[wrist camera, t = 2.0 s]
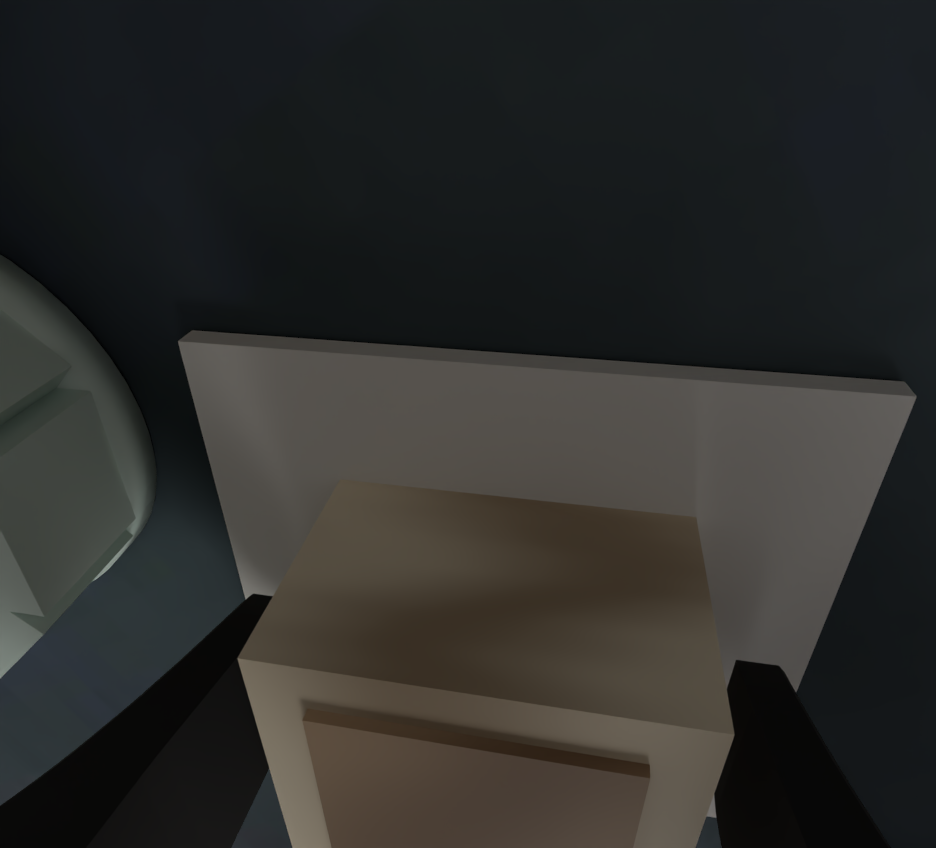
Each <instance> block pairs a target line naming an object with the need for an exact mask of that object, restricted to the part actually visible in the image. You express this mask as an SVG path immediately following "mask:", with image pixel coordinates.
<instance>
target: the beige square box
mask: <svg viewBox="0 0 936 848" xmlns="http://www.w3.org/2000/svg"><path fill="white" fill-rule="evenodd" d="M237 659H238V662H239V666H240V669H241V673H242V676H243V680H244V683H245V686H246V690H247V693H248V697H249V700H250V704H251V707H252V710H253V714H254V717H255V721H256V724H257V728H258V731H259V734H260V738H261V741H262V745H263V748H264V752H265V755H266V758H267V762H268V765H269V769H270V772H271V776H272V779H273V782H274V786H275V789H276V793H277V796H278V799H279V803H280V806H281V810H282V813H283V817H284V820H285V823H286V827H287V830H288V834H289V837H290V841H291V844H292V847H293V848H696V845H697V842H698V839H699V836H700V833H701V830H702V827H703V825H704V822H705V819H706V816H707V813H708V810H709V807H710V804H711V802H712V799H713V796H714V793H715V790H716V787H717V784H718V781H719V779H720V776H721V773H722V770H723V767H724V764H725V761H726V758H727V755H728V753H729V750H730V747H731V744H732V741H733V738H734V735H735V734H734V728H733V723H732V717H731V711H730V706H729V700H728V694H727V689H726V683H725V677H724V672H723V666H722V660H721V655H720V649H719V643H718V638H717V632H716V626H715V621H714V615H713V609H712V604H711V598H710V592H709V587H708V581H707V575H706V570H705V564H704V558H703V553H702V547H701V541H700V536H699V530H698V524H697V519H696V517H690V516H681V515H671V514H662V513H652V512H643V511H633V510H624V509H615V508H605V507H596V506H586V505H577V504H567V503H558V502H549V501H539V500H530V499H520V498H511V497H501V496H492V495H483V494H473V493H464V492H454V491H445V490H435V489H426V488H417V487H407V486H398V485H388V484H379V483H369V482H360V481H351V480H341V479H340V480H339V482H338V484H337V486H336V487H335V489H334V491H333V493H332V494H331V496H330V498H329V500H328V501H327V503H326V505H325V507H324V508H323V510H322V512H321V514H320V515H319V517H318V519H317V521H316V522H315V524H314V526H313V527H312V529H311V531H310V533H309V534H308V536H307V538H306V540H305V541H304V543H303V545H302V547H301V548H300V550H299V552H298V554H297V555H296V557H295V559H294V561H293V562H292V564H291V566H290V567H289V569H288V571H287V573H286V574H285V576H284V578H283V580H282V581H281V583H280V585H279V587H278V588H277V590H276V592H275V594H274V595H273V597H272V599H271V601H270V602H269V604H268V606H267V607H266V609H265V611H264V613H263V614H262V616H261V618H260V620H259V621H258V623H257V625H256V627H255V628H254V630H253V632H252V634H251V635H250V637H249V639H248V641H247V642H246V644H245V646H244V648H243V649H242V651H241V653H240V654H239V656H238V658H237Z"/></svg>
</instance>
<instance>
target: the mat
mask: <svg viewBox="0 0 936 848" xmlns="http://www.w3.org/2000/svg"><path fill="white" fill-rule="evenodd" d="M178 344H179V348H180V352H181V355H182V359H183V363H184V367H185V371H186V374H187V378H188V382H189V386H190V390H191V393H192V397H193V401H194V405H195V409H196V413H197V416H198V420H199V424H200V428H201V432H202V435H203V439H204V443H205V447H206V451H207V454H208V458H209V462H210V466H211V470H212V473H213V477H214V481H215V485H216V489H217V492H218V496H219V500H220V504H221V508H222V511H223V515H224V519H225V523H226V527H227V530H228V534H229V538H230V542H231V546H232V549H233V553H234V557H235V561H236V565H237V568H238V572H239V576H240V580H241V584H242V588H243V591H244V595H245V599H247V598H248V597H249V596H251V595H252V594H260V595H267V596H273V595H274V594H275V592H276V590H277V588H278V587H279V585H280V583H281V581H282V580H283V578H284V576H285V574H286V573H287V571H288V569H289V567H290V566H291V564H292V562H293V561H294V559H295V557H296V555H297V554H298V552H299V550H300V548H301V547H302V545H303V543H304V541H305V540H306V538H307V536H308V534H309V533H310V531H311V529H312V527H313V526H314V524H315V522H316V521H317V519H318V517H319V515H320V514H321V512H322V510H323V508H324V507H325V505H326V503H327V501H328V500H329V498H330V496H331V494H332V493H333V491H334V489H335V487H336V486H337V484H338V482H339V480H340V479H341V480H351V481H360V482H369V483H379V484H388V485H398V486H407V487H417V488H426V489H435V490H445V491H454V492H464V493H473V494H483V495H492V496H501V497H511V498H520V499H530V500H539V501H549V502H558V503H567V504H577V505H586V506H596V507H605V508H615V509H624V510H633V511H643V512H652V513H662V514H671V515H681V516H690V517H696V519H697V524H698V530H699V536H700V541H701V547H702V553H703V558H704V564H705V570H706V575H707V581H708V587H709V592H710V598H711V604H712V609H713V615H714V621H715V626H716V632H717V638H718V643H719V649H720V655H721V660H722V666H723V672H724V677H725V683H726V689H727V687H728V684H729V680H730V677H731V674H732V671H733V668H734V665H735V662H736V660H742V661H749V662H756V663H764V664H771V665H778V666H780V667H781V669H782V670H783V671H784V672H785V674H786V676H787V677H788V679H789V681H790V683H791V685H792V686H793V688H794V690H795V692H797V690H798V687H799V685H800V682H801V680H802V677H803V675H804V672H805V670H806V667H807V665H808V663H809V660H810V658H811V655H812V653H813V650H814V648H815V645H816V643H817V640H818V638H819V636H820V633H821V631H822V628H823V626H824V623H825V621H826V618H827V616H828V613H829V611H830V609H831V606H832V604H833V601H834V599H835V596H836V594H837V591H838V589H839V586H840V584H841V582H842V579H843V577H844V574H845V572H846V569H847V567H848V564H849V562H850V559H851V557H852V554H853V552H854V550H855V547H856V545H857V542H858V540H859V537H860V535H861V532H862V530H863V527H864V525H865V523H866V520H867V518H868V515H869V513H870V510H871V508H872V505H873V503H874V500H875V498H876V496H877V493H878V491H879V488H880V486H881V483H882V481H883V478H884V476H885V473H886V471H887V469H888V466H889V464H890V461H891V459H892V456H893V454H894V451H895V449H896V446H897V444H898V442H899V439H900V437H901V434H902V432H903V429H904V427H905V424H906V422H907V419H908V417H909V415H910V412H911V410H912V407H913V405H914V402H915V400H916V397H917V396H916V395H915V394H914V393H913V391H912V390H911V389H910V388H909V386H908V385H907V384H906V383H905V382H904V381H890V380H876V379H862V378H848V377H834V376H820V375H806V374H792V373H779V372H765V371H751V370H737V369H723V368H709V367H695V366H681V365H667V364H653V363H639V362H626V361H612V360H598V359H584V358H570V357H556V356H542V355H528V354H514V353H500V352H487V351H473V350H459V349H445V348H431V347H417V346H403V345H389V344H375V343H361V342H348V341H334V340H320V339H306V338H292V337H278V336H264V335H250V334H236V333H222V332H209V331H195V330H192V331H191V332H189V333H188V334H187V335H185V336H184V337H183V338H181V339H180V340H179V341H178ZM707 816H709V817H714V818H717V817H716V810H715V798H714V796H713V799H712V802H711V804H710V807H709V810H708V813H707Z"/></svg>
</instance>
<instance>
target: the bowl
mask: <svg viewBox="0 0 936 848" xmlns="http://www.w3.org/2000/svg"><path fill="white" fill-rule="evenodd" d="M156 482H157V474H156V463H155V455H154V451H153V447H152V442H151V438H150V434H149V431H148V429H147V426H146V423H145V421H144V418H143V415H142V413H141V410H140V408H139V406H138V404H137V402H136V400H135V398H134V396H133V394H132V392H131V390H130V388H129V386H128V385H127V383H126V381H125V380H124V378H123V377H122V375H121V373H120V372H119V370H118V369H117V367H116V366H115V364H114V363H113V361H112V360H111V358H110V357H109V355H108V354H107V353H106V352H105V350H104V349H103V348H102V346H101V345H100V344H99V343H98V341H97V340H96V339H95V338H94V336H93V335H92V334H91V333H90V331H89V330H88V329H87V328H86V327H85V326H84V325H83V324H82V323H81V322H80V321H79V320H78V319H77V317H76V316H75V315H74V314H73V313H72V312H71V311H70V310H69V309H68V308H67V307H66V306H65V305H64V304H63V303H62V302H61V301H60V300H58V299H57V298H56V297H55V296H54V295H53V294H52V293H51V292H49V291H48V290H47V289H46V288H45V287H44V286H43V285H42V284H41V283H39V282H38V281H37V280H35V279H34V278H33V277H31V276H30V275H29V274H27V273H26V272H25V271H23V270H22V269H21V268H19V267H18V266H17V265H16V264H14V263H13V262H12V261H10V260H8V259H7V258H5V257H4V256H2V255H0V678H1V677H2V676H3V675H4V674H5V673H6V672H7V671H8V670H9V669H10V668H11V667H12V666H13V665H14V664H15V663H16V662H17V661H18V660H19V659H20V658H21V657H22V656H23V655H24V654H25V653H26V652H27V651H28V650H29V649H30V648H31V647H32V646H33V645H34V644H35V643H36V642H37V641H38V640H39V639H40V638H41V637H42V636H43V635H44V634H45V632H46V631H47V630H48V629H49V628H50V627H51V626H52V625H53V624H54V623H55V621H56V620H57V619H58V618H59V617H60V616H61V615H62V614H63V613H64V612H65V610H66V609H67V608H68V607H69V606H70V605H71V604H72V603H73V602H74V601H75V599H76V598H77V597H78V596H79V595H80V594H81V593H82V592H83V591H84V590H85V588H86V587H87V586H88V585H89V584H90V583H91V582H92V581H94V580H96V579H97V578H98V577H100V576H101V575H102V574H103V573H105V572H106V571H107V570H108V569H109V568H110V567H111V566H112V565H113V564H114V562H115V561H116V560H117V559H118V558H119V557H120V556H121V555H122V554H123V552H124V551H125V550H126V549H127V548H128V547H129V546H130V545H131V544H132V542H133V541H134V540H135V539H136V538H137V536H138V535H139V534H140V533H141V531H142V530H143V529H144V527H145V525H146V523H147V521H148V519H149V517H150V515H151V512H152V508H153V504H154V501H155V497H156Z"/></svg>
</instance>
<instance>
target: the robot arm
mask: <svg viewBox="0 0 936 848" xmlns="http://www.w3.org/2000/svg"><path fill="white" fill-rule="evenodd" d="M272 597H273V596H267V595H260V594H252V595H251V596H249V597H248V598H247V599H246V600H245V601H244V602H243V603H241V604H240V605H239V606H238V607H237V608H236V609H235V610H234V611H233V612H232V613H231V614H230V615H228V616H227V617H226V618H225V619H224V620H223V621H222V622H221V623H220V624H219V625H218V626H217V627H216V628H215V629H213V630H212V631H211V632H210V633H209V634H208V635H207V636H206V637H205V638H204V639H203V640H202V641H201V642H199V643H198V644H197V645H196V646H195V647H194V648H193V649H192V650H191V651H190V652H189V653H188V654H186V655H185V656H184V657H183V658H182V659H181V660H180V661H179V662H178V663H177V664H175V665H174V666H173V667H172V668H171V669H170V670H169V671H168V672H166V673H165V674H164V675H163V676H162V677H161V678H160V679H159V680H157V681H156V682H155V683H154V684H153V685H152V686H151V687H150V688H148V689H147V690H146V691H145V692H144V693H143V694H142V695H141V696H139V697H138V698H137V699H136V700H135V701H134V702H132V703H131V704H130V705H129V706H128V707H127V708H125V709H124V710H123V711H122V712H121V713H119V714H118V715H117V716H116V717H115V718H113V719H112V720H111V721H110V722H108V723H107V724H106V725H105V726H104V727H102V728H101V729H100V730H99V731H98V732H96V733H95V734H94V735H93V736H91V737H90V738H89V739H88V740H87V741H85V742H84V743H83V744H82V745H81V746H79V747H78V748H77V749H76V750H74V751H73V752H72V753H70V754H69V755H68V756H67V757H65V758H64V759H63V760H61V761H60V762H59V763H58V764H56V765H55V766H54V767H52V768H51V769H50V770H48V771H47V772H46V773H44V774H43V775H42V776H40V777H39V778H38V779H36V780H35V781H34V782H32V783H31V784H30V785H28V786H27V787H26V788H24V789H23V790H21V791H20V792H19V793H17V794H16V795H15V796H13V797H12V798H10V799H9V800H8V801H6V802H5V803H3V804H2V805H1V806H0V848H231V847H232V845H233V843H234V841H235V838H236V836H237V834H238V832H239V830H240V828H241V826H242V824H243V822H244V820H245V818H246V815H247V813H248V811H249V809H250V807H251V805H252V803H253V801H254V799H255V797H256V795H257V792H258V790H259V788H260V786H261V784H262V782H263V780H264V778H265V776H266V773H267V771H268V769H269V765H268V762H267V758H266V755H265V752H264V748H263V745H262V741H261V738H260V734H259V731H258V728H257V724H256V721H255V717H254V714H253V710H252V707H251V704H250V700H249V697H248V693H247V690H246V686H245V683H244V680H243V676H242V673H241V669H240V666H239V662H238V659H237V658H238V656H239V654H240V653H241V651H242V649H243V648H244V646H245V644H246V642H247V641H248V639H249V637H250V635H251V634H252V632H253V630H254V628H255V627H256V625H257V623H258V621H259V620H260V618H261V616H262V614H263V613H264V611H265V609H266V607H267V606H268V604H269V602H270V601H271V599H272ZM727 694H728V700H729V706H730V711H731V717H732V723H733V728H734V734H735V735H734V738H733V741H732V744H731V747H730V750H729V753H728V755H727V758H726V761H725V764H724V767H723V770H722V773H721V776H720V779H719V781H718V784H717V787H716V790H715V793H714V798H715V810H716V817H717V823H718V829H719V835H720V840H721V846H722V848H891V847H890V845H889V844H888V842H887V841H886V839H885V838H884V837H883V835H882V833H881V832H880V830H879V829H878V827H877V826H876V824H875V823H874V821H873V819H872V818H871V816H870V815H869V813H868V812H867V810H866V809H865V807H864V805H863V804H862V802H861V801H860V799H859V798H858V796H857V795H856V793H855V791H854V790H853V788H852V787H851V785H850V784H849V782H848V780H847V779H846V777H845V776H844V774H843V772H842V771H841V769H840V767H839V766H838V764H837V763H836V761H835V759H834V758H833V756H832V754H831V752H830V751H829V749H828V747H827V746H826V744H825V742H824V741H823V739H822V737H821V736H820V734H819V732H818V731H817V729H816V727H815V725H814V724H813V722H812V720H811V719H810V717H809V715H808V713H807V711H806V710H805V708H804V706H803V704H802V703H801V701H800V699H799V697H798V695H797V694H796V692H795V690H794V688H793V686H792V685H791V683H790V681H789V679H788V677H787V676H786V674H785V672H784V671H783V670H782V669H781V667H780V666H778V665H771V664H764V663H756V662H749V661H742V660H736V662H735V665H734V668H733V671H732V674H731V677H730V680H729V684H728V687H727Z"/></svg>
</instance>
